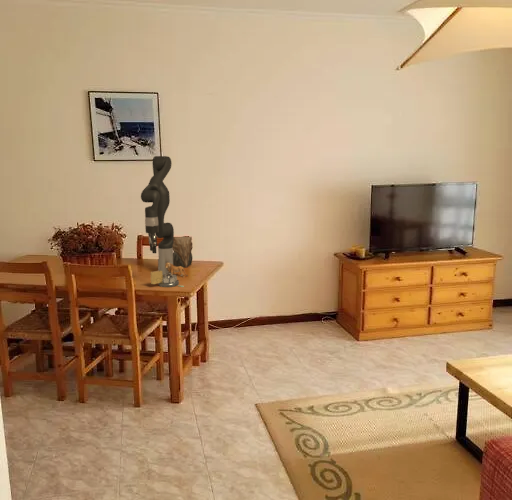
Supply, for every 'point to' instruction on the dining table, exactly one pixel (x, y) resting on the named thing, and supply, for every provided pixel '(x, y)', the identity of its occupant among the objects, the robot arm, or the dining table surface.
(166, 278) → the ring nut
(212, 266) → the dining table surface
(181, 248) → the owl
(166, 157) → the robot arm
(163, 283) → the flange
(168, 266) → the lion figurine
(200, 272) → the dining table surface
